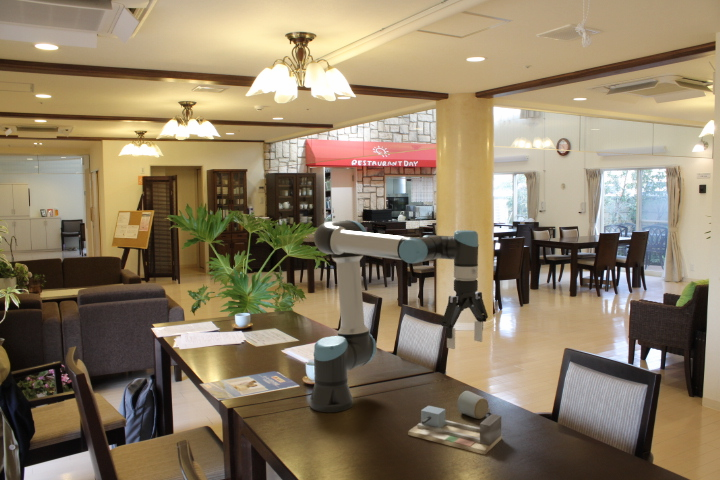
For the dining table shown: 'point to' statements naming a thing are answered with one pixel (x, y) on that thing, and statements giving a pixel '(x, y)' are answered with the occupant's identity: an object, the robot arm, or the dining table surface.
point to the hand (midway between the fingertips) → (464, 344)
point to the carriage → (433, 416)
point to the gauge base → (463, 434)
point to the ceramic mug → (473, 405)
